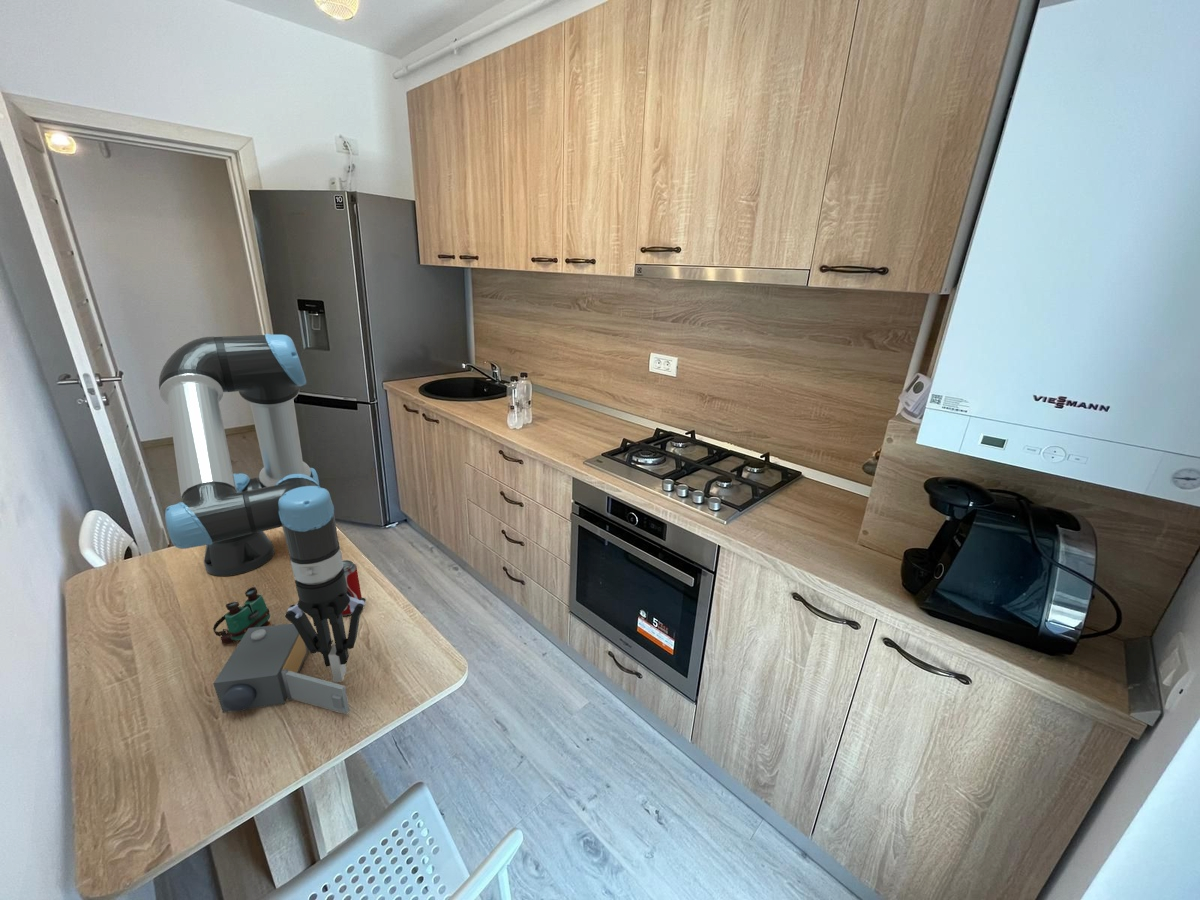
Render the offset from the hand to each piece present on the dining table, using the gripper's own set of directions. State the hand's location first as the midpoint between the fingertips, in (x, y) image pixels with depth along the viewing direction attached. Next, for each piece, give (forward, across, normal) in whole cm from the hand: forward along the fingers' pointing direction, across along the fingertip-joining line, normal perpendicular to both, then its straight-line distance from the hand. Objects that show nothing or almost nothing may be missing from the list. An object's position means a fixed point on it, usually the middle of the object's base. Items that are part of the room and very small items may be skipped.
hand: (340, 675), depth 92 cm
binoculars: (+3, -24, +18) cm, 31 cm away
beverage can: (+3, -4, +24) cm, 24 cm away
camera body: (+3, -14, +4) cm, 15 cm away
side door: (+2, -3, -4) cm, 6 cm away
